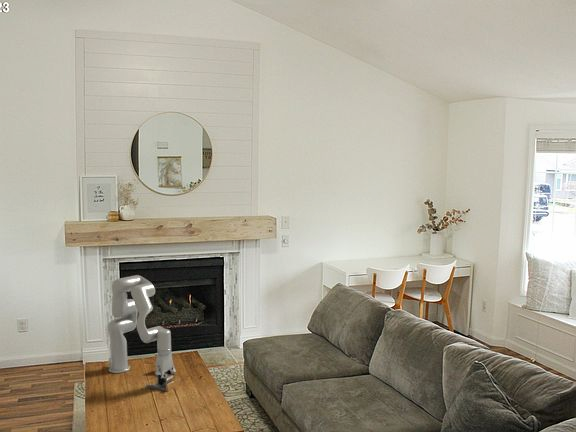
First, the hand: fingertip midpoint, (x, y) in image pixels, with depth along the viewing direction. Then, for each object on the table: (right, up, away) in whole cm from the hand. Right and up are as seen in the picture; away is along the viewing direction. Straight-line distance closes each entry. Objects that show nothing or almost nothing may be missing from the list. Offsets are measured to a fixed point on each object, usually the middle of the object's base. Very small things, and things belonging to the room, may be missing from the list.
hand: (165, 381), depth 321 cm
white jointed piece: (-2, -1, +20) cm, 20 cm away
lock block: (0, -3, 0) cm, 3 cm away
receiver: (0, -2, 0) cm, 3 cm away
